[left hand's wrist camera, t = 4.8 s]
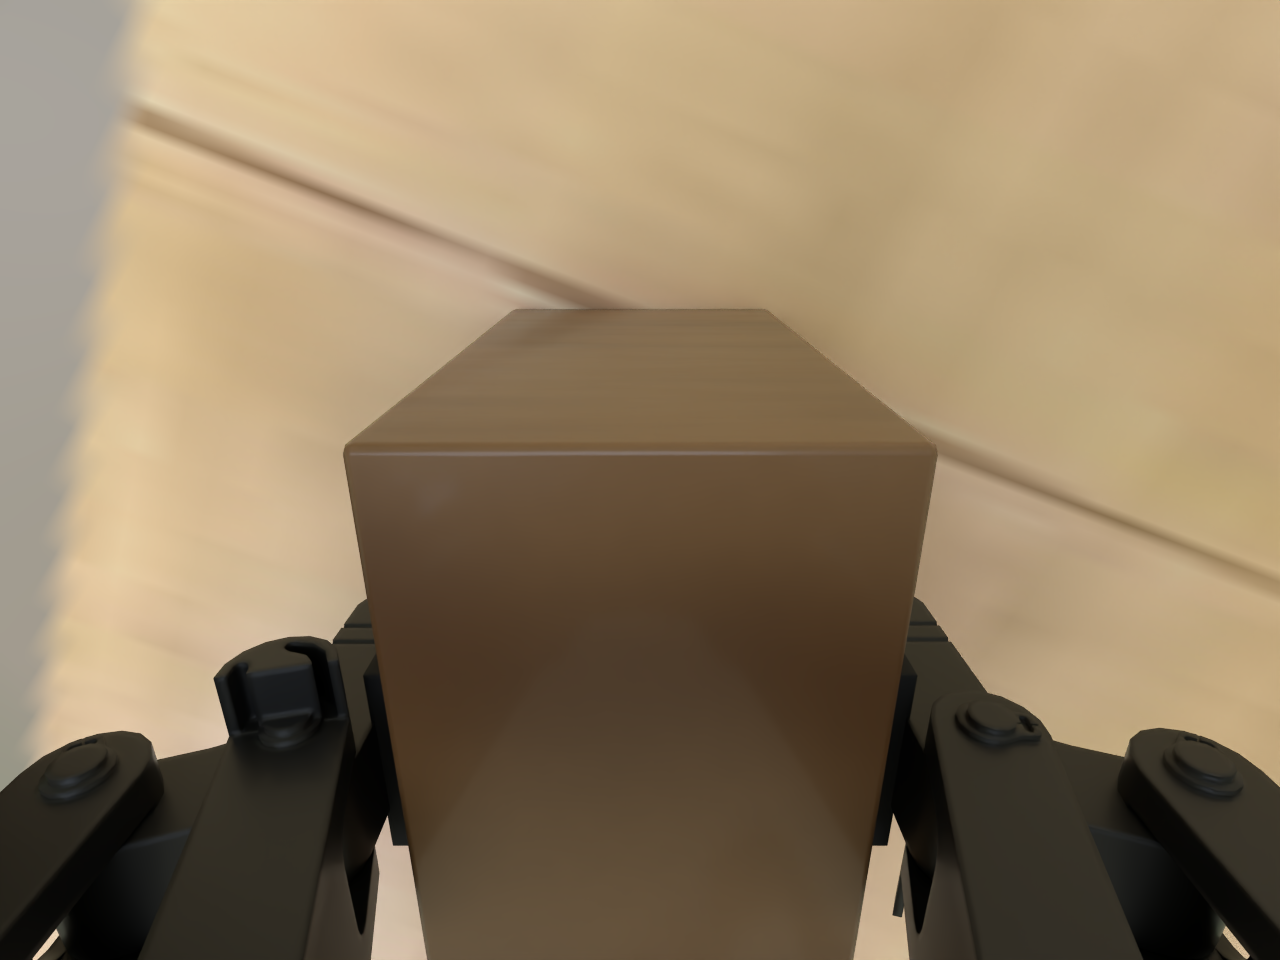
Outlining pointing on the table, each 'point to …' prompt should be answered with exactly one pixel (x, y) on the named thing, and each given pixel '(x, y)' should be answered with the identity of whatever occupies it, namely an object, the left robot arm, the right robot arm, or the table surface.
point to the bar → (640, 634)
